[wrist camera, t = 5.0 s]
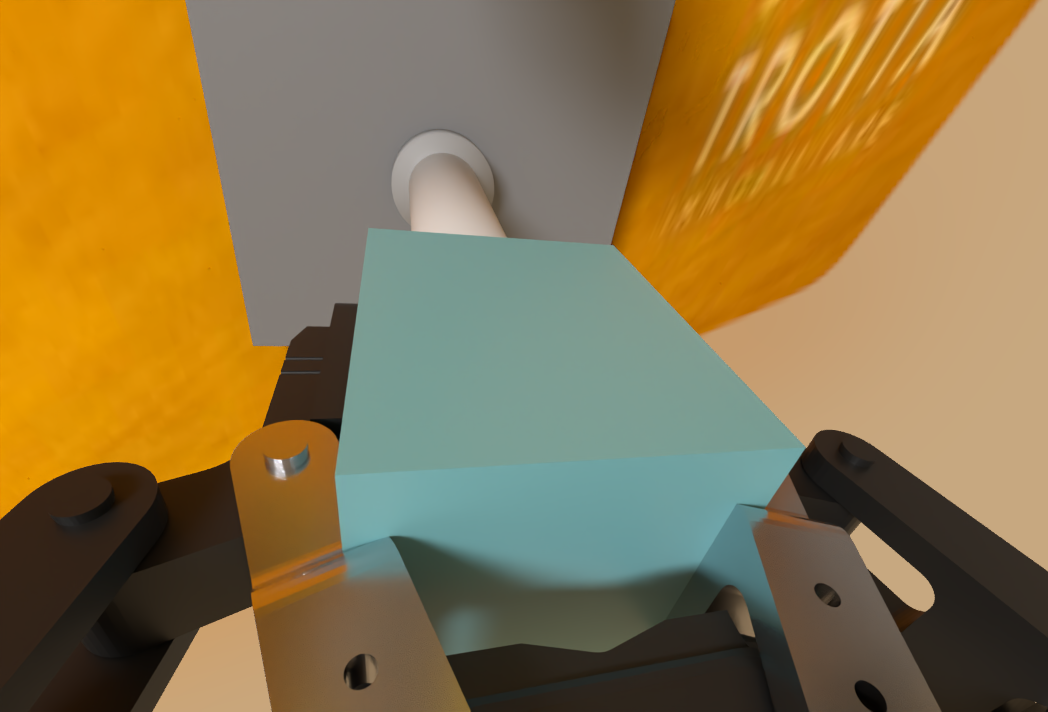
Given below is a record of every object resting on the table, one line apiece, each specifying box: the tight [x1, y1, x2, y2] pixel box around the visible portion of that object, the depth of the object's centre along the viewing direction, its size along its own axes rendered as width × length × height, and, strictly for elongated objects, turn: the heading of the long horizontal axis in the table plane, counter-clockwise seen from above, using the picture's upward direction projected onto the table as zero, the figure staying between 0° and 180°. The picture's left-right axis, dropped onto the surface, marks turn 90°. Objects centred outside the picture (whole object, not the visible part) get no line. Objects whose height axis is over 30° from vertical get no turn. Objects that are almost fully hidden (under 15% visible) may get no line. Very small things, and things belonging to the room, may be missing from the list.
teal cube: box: [335, 228, 806, 655], centre depth 8 cm, size 5×5×6 cm
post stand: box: [185, 0, 675, 346], centre depth 16 cm, size 18×18×18 cm
